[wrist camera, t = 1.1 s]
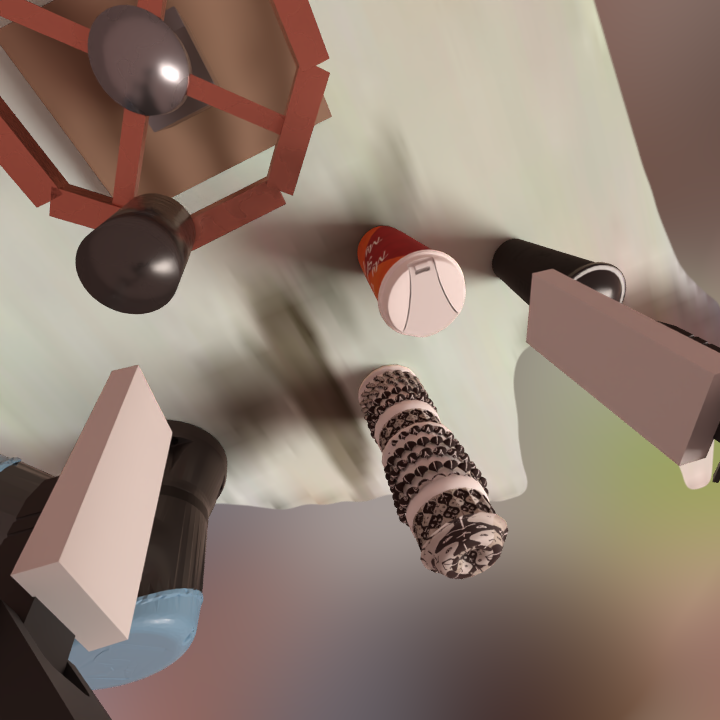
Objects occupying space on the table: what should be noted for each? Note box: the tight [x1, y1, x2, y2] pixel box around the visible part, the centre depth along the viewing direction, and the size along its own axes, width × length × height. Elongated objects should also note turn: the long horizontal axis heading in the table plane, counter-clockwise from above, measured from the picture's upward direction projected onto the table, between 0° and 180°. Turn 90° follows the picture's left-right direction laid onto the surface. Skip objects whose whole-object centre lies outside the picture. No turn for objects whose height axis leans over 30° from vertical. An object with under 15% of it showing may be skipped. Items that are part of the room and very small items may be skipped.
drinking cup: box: [492, 239, 626, 306], centre depth 42 cm, size 8×8×20 cm
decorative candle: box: [358, 364, 508, 579], centre depth 46 cm, size 9×9×25 cm
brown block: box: [0, 0, 332, 198], centre depth 30 cm, size 20×14×10 cm
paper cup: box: [357, 226, 466, 337], centre depth 40 cm, size 8×8×14 cm
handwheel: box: [0, 0, 330, 314], centre depth 21 cm, size 18×18×15 cm
